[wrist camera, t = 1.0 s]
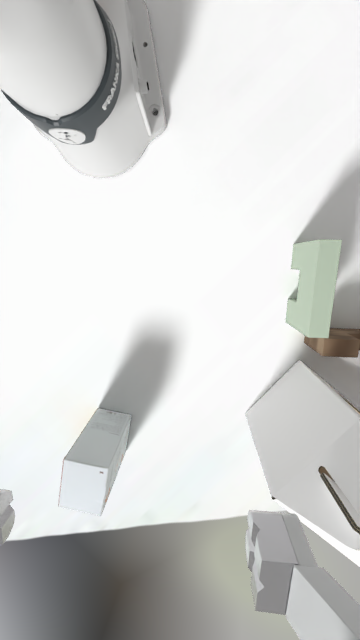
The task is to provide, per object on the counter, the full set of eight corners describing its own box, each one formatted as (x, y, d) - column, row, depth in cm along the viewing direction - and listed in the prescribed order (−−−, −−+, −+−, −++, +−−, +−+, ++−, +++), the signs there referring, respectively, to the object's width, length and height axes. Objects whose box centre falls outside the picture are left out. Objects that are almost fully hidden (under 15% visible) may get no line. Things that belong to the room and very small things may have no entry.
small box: (97, 406, 49) (62, 458, 36) (132, 414, 49) (109, 468, 36) (91, 446, 51) (56, 508, 38) (125, 453, 50) (101, 517, 38)
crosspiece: (293, 243, 41) (320, 239, 32) (310, 244, 41) (342, 239, 32) (285, 322, 44) (308, 337, 35) (301, 322, 44) (328, 338, 35)
